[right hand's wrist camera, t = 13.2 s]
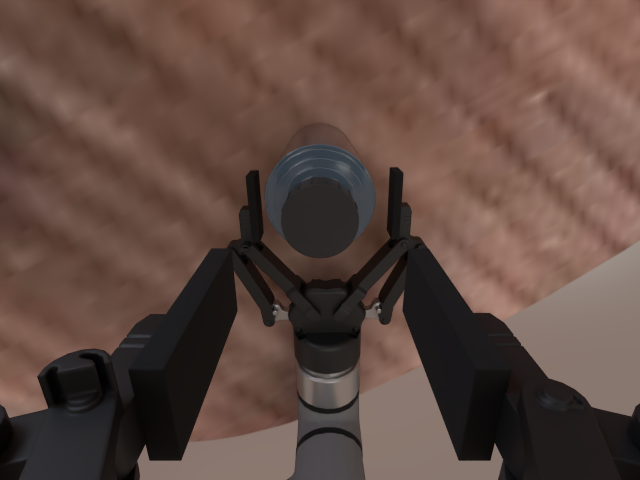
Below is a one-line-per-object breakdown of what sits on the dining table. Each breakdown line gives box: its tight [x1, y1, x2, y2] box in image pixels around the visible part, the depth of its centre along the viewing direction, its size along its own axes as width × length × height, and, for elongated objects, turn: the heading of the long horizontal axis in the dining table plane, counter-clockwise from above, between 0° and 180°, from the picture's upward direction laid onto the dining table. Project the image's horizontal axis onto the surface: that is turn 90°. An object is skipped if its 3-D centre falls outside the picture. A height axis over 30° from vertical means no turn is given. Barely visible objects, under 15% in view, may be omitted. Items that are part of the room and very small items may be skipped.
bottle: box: [265, 123, 375, 241], centre depth 31 cm, size 7×7×21 cm
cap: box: [281, 176, 359, 258], centre depth 22 cm, size 4×4×2 cm
